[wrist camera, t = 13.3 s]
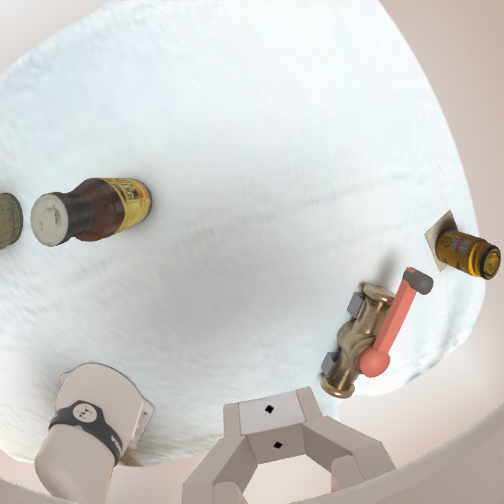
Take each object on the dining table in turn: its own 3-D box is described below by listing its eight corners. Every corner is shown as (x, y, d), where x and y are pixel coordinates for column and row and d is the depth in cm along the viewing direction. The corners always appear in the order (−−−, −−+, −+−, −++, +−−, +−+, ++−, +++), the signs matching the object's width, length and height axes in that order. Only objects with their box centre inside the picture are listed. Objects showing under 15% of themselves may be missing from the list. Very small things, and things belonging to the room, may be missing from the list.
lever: (352, 368, 38) (363, 385, 34) (400, 263, 35) (418, 272, 30) (375, 371, 38) (387, 386, 34) (422, 271, 35) (440, 280, 31)
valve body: (345, 378, 47) (360, 402, 40) (315, 375, 46) (327, 401, 39) (388, 289, 43) (411, 305, 37) (357, 280, 42) (379, 297, 36)
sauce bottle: (160, 188, 37) (99, 196, 17) (144, 231, 38) (77, 277, 19) (118, 171, 35) (33, 168, 16) (103, 213, 37) (16, 244, 17)
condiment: (439, 271, 44) (484, 294, 32) (424, 234, 42) (473, 251, 30) (463, 247, 44) (508, 264, 32) (449, 209, 42) (498, 220, 30)
